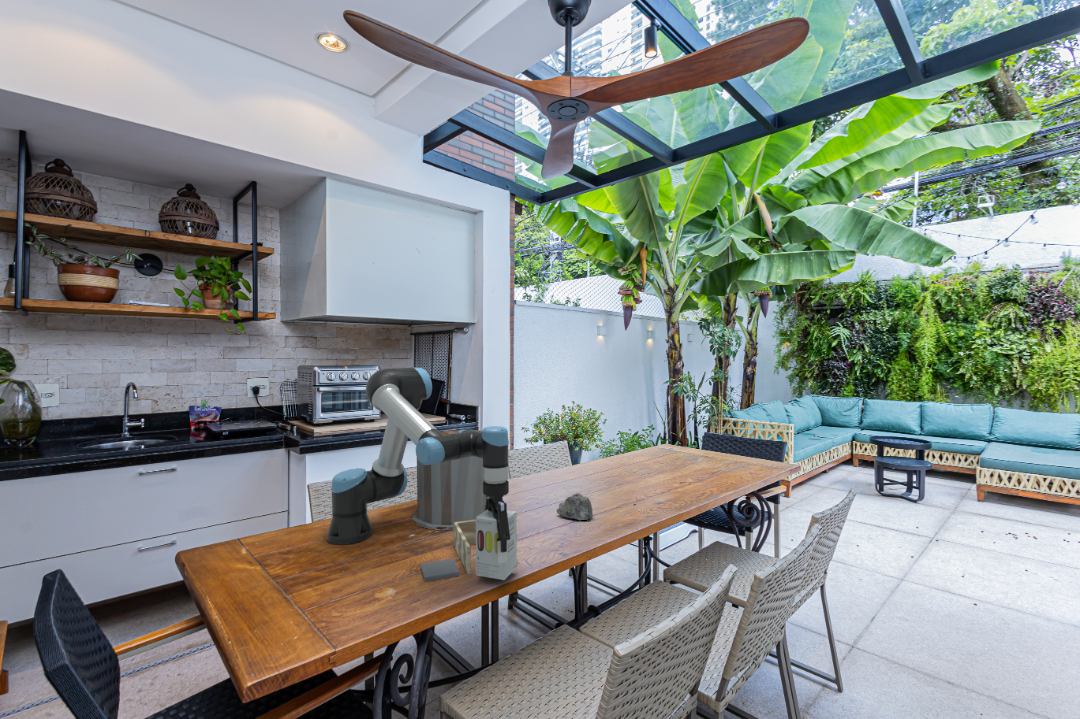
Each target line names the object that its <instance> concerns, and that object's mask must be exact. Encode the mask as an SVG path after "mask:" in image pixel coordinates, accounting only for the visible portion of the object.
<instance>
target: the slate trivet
mask: <svg viewBox="0 0 1080 719" xmlns="http://www.w3.org/2000/svg"><path fill="white" fill-rule="evenodd" d="M455 561H456V560H455V559H454V558H448V559H447V558H446V559H442V560H435V561H429V562H421V563H420V569H421V573H422V577H423V580H424V582H425V583H426V582H431V581H432V582H433V581H437V580H441V579H449V578H454V577H460V571H459V568H458V566H457V564H456V562H455Z"/></svg>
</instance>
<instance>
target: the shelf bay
mask: <svg viewBox="0 0 1080 719" xmlns="http://www.w3.org/2000/svg"><path fill="white" fill-rule="evenodd" d="M471 544H474V545H476V520H468V521H460V522H454V531H453V546H455V547H454V548H455V551H456V552H457V555H458V557H459V560H460V561H461V564H462V565H464V566H463V568H464V570H465V572H466V574H467V575H471V574H472V553H471V552H472V549H471V548H472V547H471V546H472V545H471Z"/></svg>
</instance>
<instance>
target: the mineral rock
mask: <svg viewBox="0 0 1080 719" xmlns="http://www.w3.org/2000/svg"><path fill="white" fill-rule="evenodd" d="M556 513H557V514H558V515H560V516H561V517H565V518H568V519H572V518H573V519H575V520H578V521H581V520H588V521H589V519H591V518H592V519H593V506H592V502H591V500H590V498H589V497H588V496H584V495H582V494H581V493H575V494H572V495H571V496H568V497H567V498H566V499H565V500H564V502H561V503H559V505H558V508H556ZM592 519H591V520H592Z"/></svg>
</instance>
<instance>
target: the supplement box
mask: <svg viewBox="0 0 1080 719" xmlns="http://www.w3.org/2000/svg"><path fill="white" fill-rule="evenodd" d="M507 516H508V524H509V532H510V540H508V562H506V563H500V564H498V541H496V539H497V538H499V537H498V532H497V521H496V519H495V518H494V517H493V513H492V511H488V509H487V510H486V511H485V512H483V513H482V514H480V515H479V516H477V517H476V544H475V576H479V577H485V578H490V579H494V580H502V581H505V580H507V578H508V577H509V576H510V575H511V574H512V572H514V570H515V569H516V568H518V558H517V557H518V554H517V553H518V548H517V546H518V543H517V542H518V541H517V540H518V534H517V532H518V531H517V530H518V528H517V527H518V526H517V525H518V524H517V522H518V520H517V518H518V515H517V511H515V510H514V511H513V510H507ZM498 522H499V521H498ZM503 536H505V535H503Z"/></svg>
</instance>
